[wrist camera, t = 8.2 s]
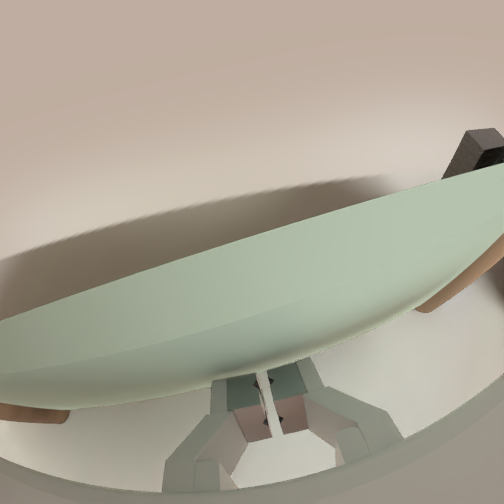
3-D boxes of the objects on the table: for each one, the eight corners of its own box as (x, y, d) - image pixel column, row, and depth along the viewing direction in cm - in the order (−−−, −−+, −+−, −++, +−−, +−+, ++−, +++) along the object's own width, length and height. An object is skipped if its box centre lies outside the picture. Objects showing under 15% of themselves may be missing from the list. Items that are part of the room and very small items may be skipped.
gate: (71, 419, 12) (-96, 388, 2) (64, 384, 13) (-96, 328, 3) (445, 303, 14) (579, 175, 3) (428, 270, 15) (539, 123, 4)
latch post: (415, 318, 14) (590, 146, 2) (387, 262, 16) (496, 52, 4) (470, 284, 15) (600, 140, 2) (443, 236, 16) (540, 73, 4)
